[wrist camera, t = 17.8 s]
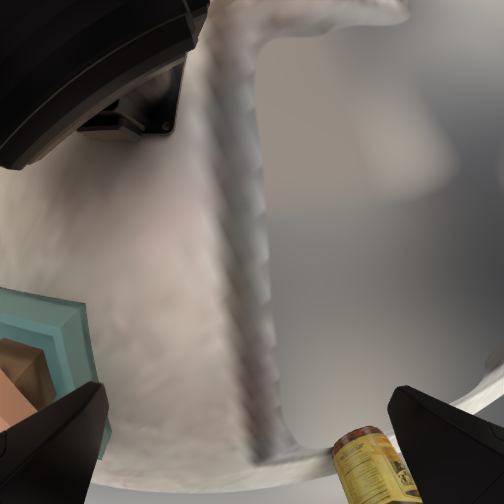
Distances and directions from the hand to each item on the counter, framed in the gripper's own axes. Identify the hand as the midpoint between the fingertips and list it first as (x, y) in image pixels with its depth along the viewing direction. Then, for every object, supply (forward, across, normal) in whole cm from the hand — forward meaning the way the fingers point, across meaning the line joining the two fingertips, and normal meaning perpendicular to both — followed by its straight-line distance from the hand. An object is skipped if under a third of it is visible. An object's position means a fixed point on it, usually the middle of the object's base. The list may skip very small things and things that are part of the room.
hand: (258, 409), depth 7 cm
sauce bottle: (+12, -14, +18) cm, 26 cm away
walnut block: (+11, +18, +10) cm, 23 cm away
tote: (+12, +18, +10) cm, 24 cm away
